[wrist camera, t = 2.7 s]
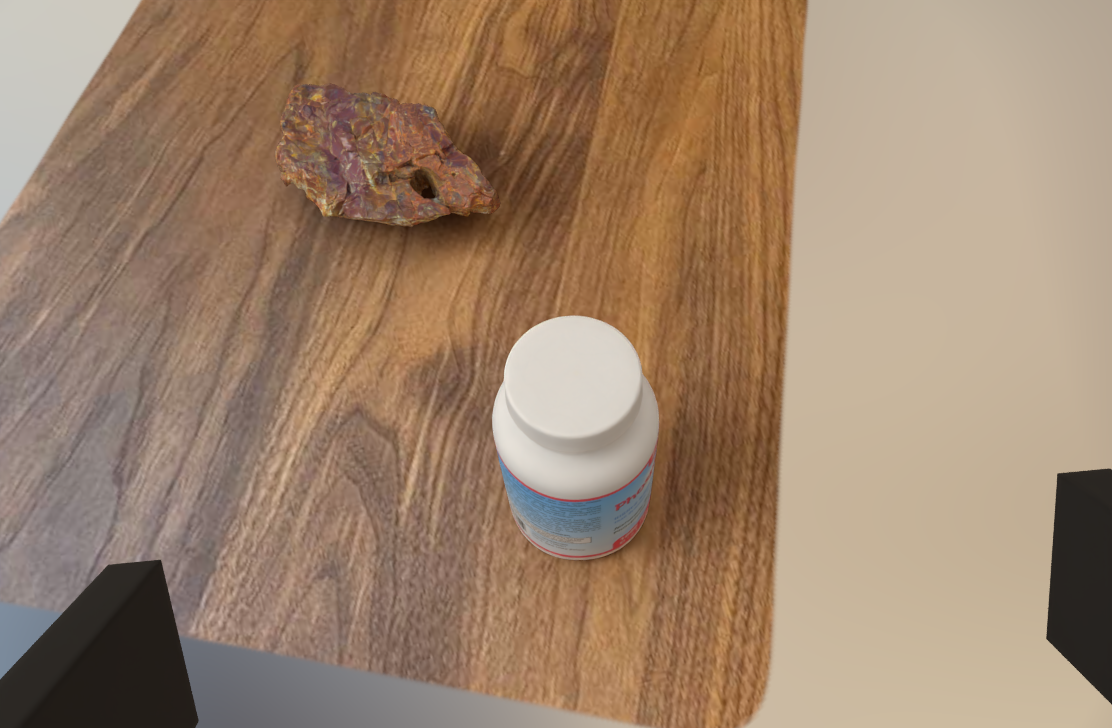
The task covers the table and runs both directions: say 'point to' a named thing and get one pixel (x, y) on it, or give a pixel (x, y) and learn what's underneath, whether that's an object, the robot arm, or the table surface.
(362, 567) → the table surface
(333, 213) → the mineral specimen
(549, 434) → the pill bottle
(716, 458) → the table surface
